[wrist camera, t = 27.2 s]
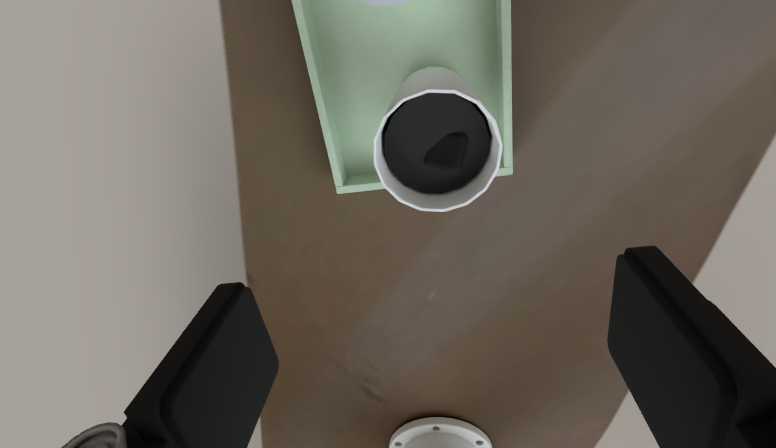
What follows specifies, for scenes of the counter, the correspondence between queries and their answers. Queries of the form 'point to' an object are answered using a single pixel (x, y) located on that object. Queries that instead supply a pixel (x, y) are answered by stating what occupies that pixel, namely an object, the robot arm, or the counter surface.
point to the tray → (398, 68)
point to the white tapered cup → (383, 2)
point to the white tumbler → (437, 142)
